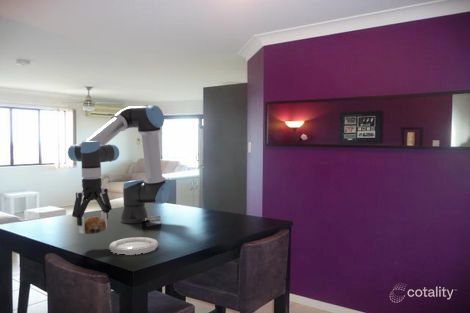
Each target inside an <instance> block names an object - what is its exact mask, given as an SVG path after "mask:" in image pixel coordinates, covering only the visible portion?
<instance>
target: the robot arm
mask: <svg viewBox="0 0 470 313" xmlns="http://www.w3.org/2000/svg"><path fill="white" fill-rule="evenodd" d="M164 122H165V116H164V113H163V111H162V109H161V108H160V107H159V106H158V105H153V104H148V105H147V104H146V105H145V104H144V105H131V106H127V107H125V108H122V109H121V110H119V111H117V112H115V114H113V115H112V116H111V118H110V120H108V122H107V123H105V124H104V125H102V126H101V127H100V128H99V129H98V130H96V131H95V132H93V134H91V135H90V136H89V137H88V138H86V139H85V140H84V141H82V142H81V143H80V144H77V143H76V144H72V145H70V146H69V148H68V150H67V155H68V158H69V160H71V161H73V162H80V163H81V178H82V179H81V187H82V191H80V192H78V191H77V192H76V193H75V201H74V205H73V210H72V213H71V214H72V216H71V217H73V218H76V221H77V222H76V225H77V226H78V233H79V234H82V235H84V234H85V225H84V221H85V217H83V216H84V214H85V212H86V211H87V210H86V209H87V208H88V205H89V203H90V202H91V201H94V200H95V201H96V202H97V204H98V205H99V208H100V209H101V212H100V216H101V217H100V218H102V219H104V221H105V223H106V228H108V218H109V213H110V211H112V210H113V208H112V204H111V201H110V198H109V192H108V188H102V178H101V177H102V164H101V163H107V162H110V163H111V162H115V161H116V160H117V159H119V156H120V149H119V147H118V146H117V145H115V144H109V143H110V141H111V140H112V139H114V138H115V137H116V136H117V135H118V134H120V133H121V132H124V131H126V130H127V129H131V128H134V129H135V128H137V132H138V134H139V133H140V134H141V143H142V152H143V153H142V154H143V159H144V169H145V171H144V172H145V178H143V179H142V178H141V179H133V180H129V181H124V182H123V185H122V186H123V188H122V190H123V191H122V192H123V193H122V194H123V208H122V212H121V216H120V223H123V224H142V223H144V222H143V220H144V219H145V218H148V219H149V215H148V212H147V208H146V204H154V205H163V204H166V202H168V200H169V198H170V195H171V185H170V184H169V182H166V178H165V177H164V176H163V174H162V172H163V170H162V161H161V152H160V140H159V132H160V131H161V128H162V127H163V125H164ZM101 195H102V196H101ZM85 235H86V234H85Z"/></svg>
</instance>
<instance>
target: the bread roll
mask: <svg viewBox="0 0 470 313" xmlns="http://www.w3.org/2000/svg"><path fill="white" fill-rule="evenodd" d="M84 225H85V235H93V234H99V233H102V232H105V230H106V223H105V221H104V219H102V218H101V217H100V216H96V215H93V216H88V217H87V218H86V219H84Z"/></svg>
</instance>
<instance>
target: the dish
mask: <svg viewBox="0 0 470 313" xmlns="http://www.w3.org/2000/svg"><path fill="white" fill-rule="evenodd" d="M158 245H159V242H158V240H156V239H154V238H151V237H147V236H145V237H143V236H142V237H141V236H136V237H125V238H121V239H118V240H115V241H112V242H111V243H110V244H109V251H110V250H111V251H110V253H111V252H113V253H112V254H115V253H117V254H116V255H119V254H125V255H124V256H135V254H136V255H141V253H143V254H146V253H150V252H153V251H155V250H156V249H157V248H158V247H159V246H158Z"/></svg>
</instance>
